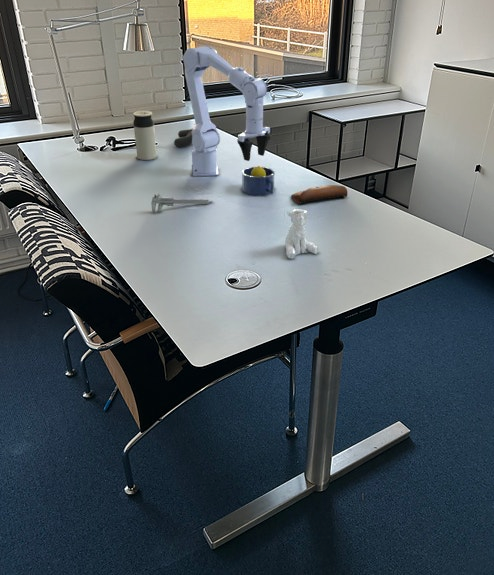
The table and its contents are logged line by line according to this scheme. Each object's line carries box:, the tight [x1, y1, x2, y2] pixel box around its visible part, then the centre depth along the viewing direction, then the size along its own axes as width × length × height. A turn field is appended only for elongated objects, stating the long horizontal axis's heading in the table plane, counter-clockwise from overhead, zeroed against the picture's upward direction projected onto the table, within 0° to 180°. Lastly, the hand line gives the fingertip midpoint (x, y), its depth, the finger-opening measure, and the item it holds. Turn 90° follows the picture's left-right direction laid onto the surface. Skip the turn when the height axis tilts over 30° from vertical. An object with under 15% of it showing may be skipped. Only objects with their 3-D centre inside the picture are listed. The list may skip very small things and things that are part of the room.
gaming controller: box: [173, 128, 193, 148], centre depth 234 cm, size 17×6×10 cm
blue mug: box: [241, 166, 275, 196], centre depth 184 cm, size 14×11×6 cm
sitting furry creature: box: [284, 208, 319, 260], centre depth 144 cm, size 10×9×12 cm
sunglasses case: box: [291, 184, 348, 205], centre depth 179 cm, size 18×7×7 cm
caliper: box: [151, 193, 213, 214], centre depth 171 cm, size 20×1×6 cm, turn 116°
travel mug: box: [132, 110, 158, 161], centre depth 213 cm, size 8×8×18 cm
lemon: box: [251, 165, 266, 177], centre depth 184 cm, size 6×6×8 cm
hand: (253, 157), depth 184 cm, fingers open, 7 cm apart
